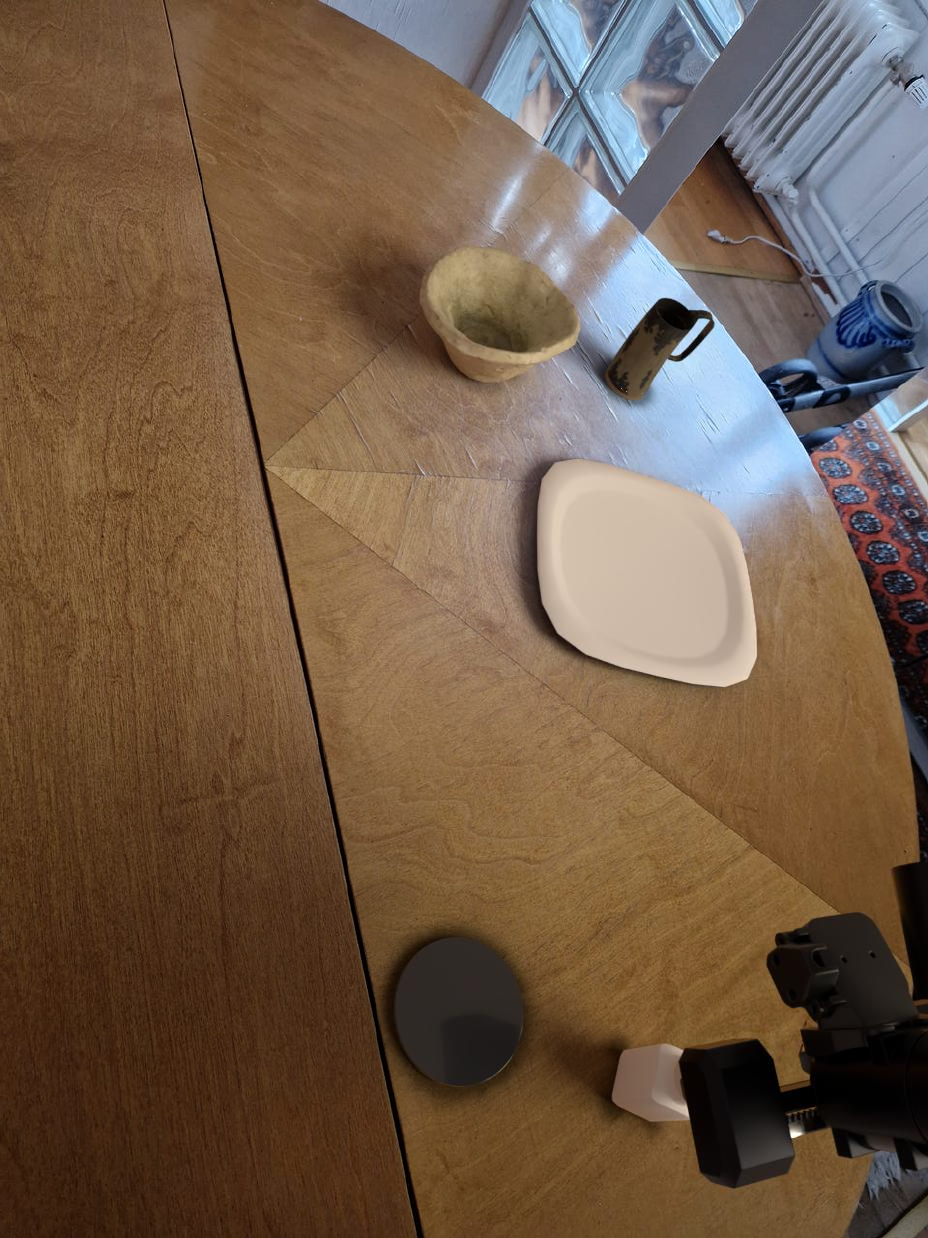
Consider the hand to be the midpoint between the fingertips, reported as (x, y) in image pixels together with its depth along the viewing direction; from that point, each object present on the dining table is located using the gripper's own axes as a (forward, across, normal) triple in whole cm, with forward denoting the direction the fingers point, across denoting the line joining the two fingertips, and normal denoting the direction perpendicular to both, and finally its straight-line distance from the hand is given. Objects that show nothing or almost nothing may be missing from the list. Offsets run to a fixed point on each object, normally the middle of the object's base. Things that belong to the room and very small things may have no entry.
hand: (744, 1074), depth 55 cm
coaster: (+15, +13, -6) cm, 20 cm away
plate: (+20, -15, -44) cm, 50 cm away
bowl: (+23, -2, -72) cm, 75 cm away
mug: (+23, -22, -71) cm, 78 cm away
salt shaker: (+14, 0, +2) cm, 14 cm away
